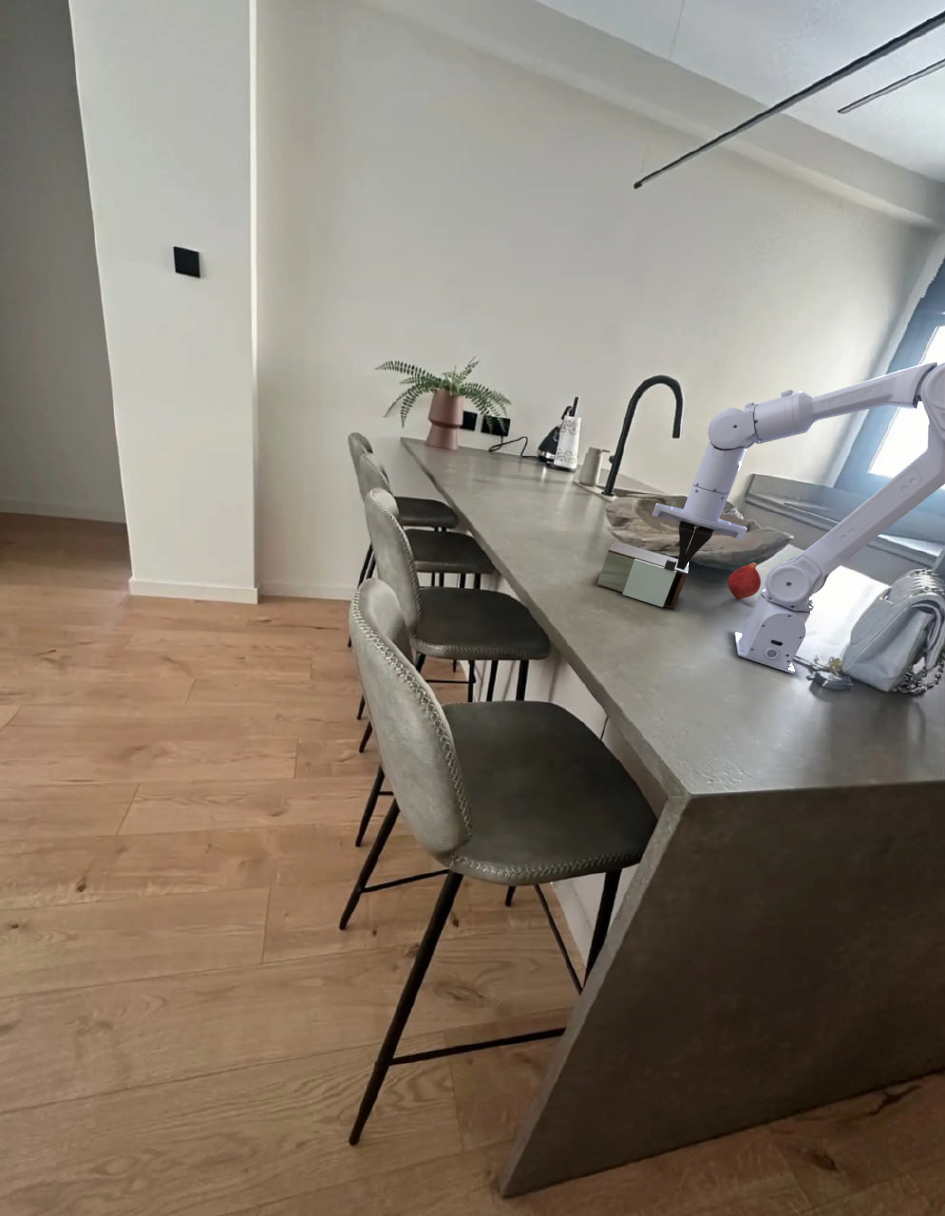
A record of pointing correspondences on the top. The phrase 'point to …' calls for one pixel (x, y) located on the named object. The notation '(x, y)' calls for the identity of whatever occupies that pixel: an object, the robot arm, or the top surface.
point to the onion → (744, 581)
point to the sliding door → (650, 581)
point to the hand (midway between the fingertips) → (680, 567)
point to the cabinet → (621, 565)
